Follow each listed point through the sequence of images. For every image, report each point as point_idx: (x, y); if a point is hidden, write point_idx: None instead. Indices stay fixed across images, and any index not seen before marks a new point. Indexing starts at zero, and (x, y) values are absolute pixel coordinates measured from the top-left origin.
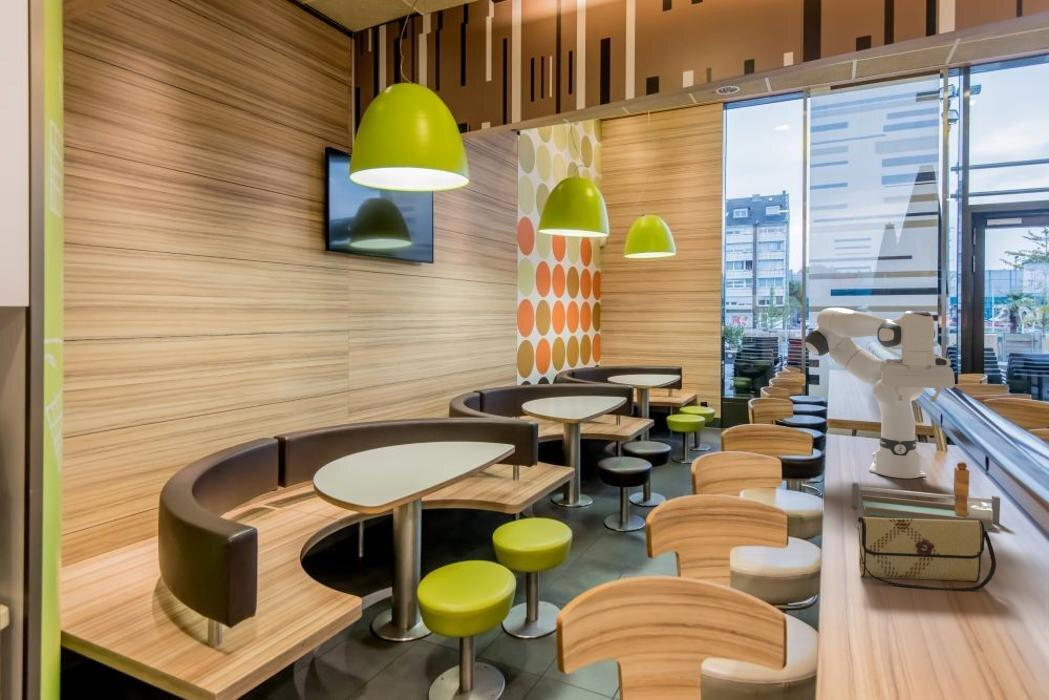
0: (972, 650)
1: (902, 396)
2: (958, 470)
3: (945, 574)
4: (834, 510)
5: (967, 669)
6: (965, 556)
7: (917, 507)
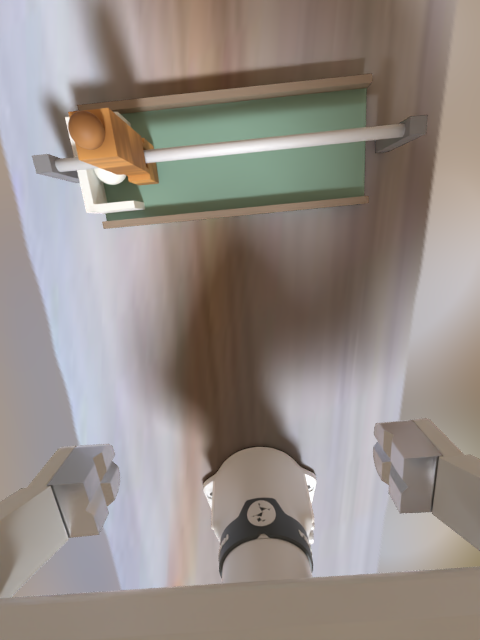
0: None
1: (397, 449)
2: (104, 108)
3: None
4: (438, 83)
5: None
6: None
7: (237, 192)
